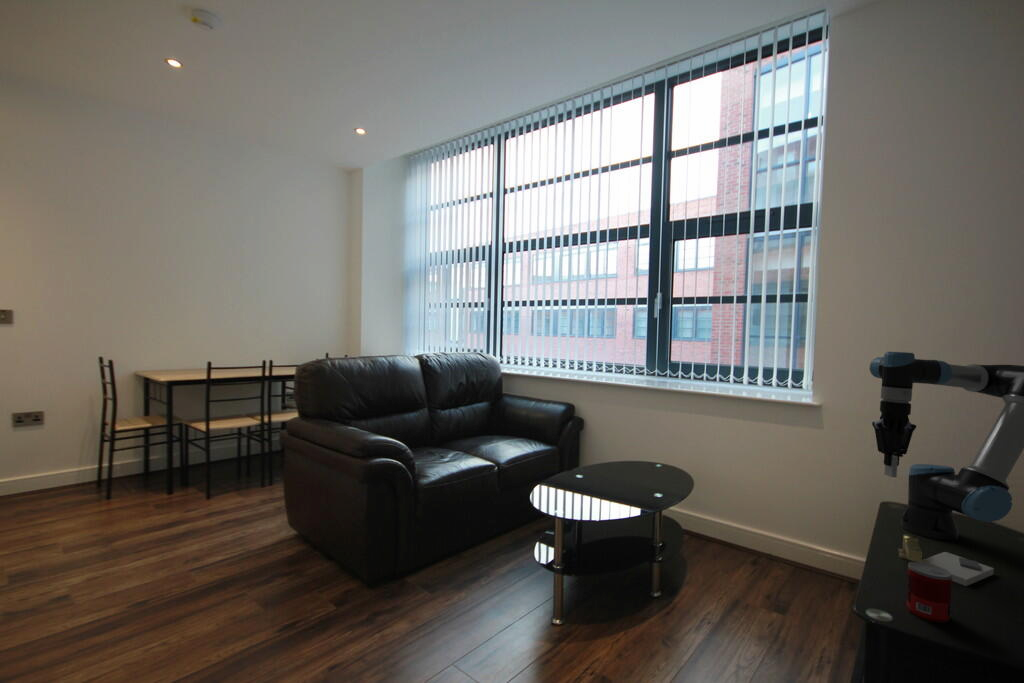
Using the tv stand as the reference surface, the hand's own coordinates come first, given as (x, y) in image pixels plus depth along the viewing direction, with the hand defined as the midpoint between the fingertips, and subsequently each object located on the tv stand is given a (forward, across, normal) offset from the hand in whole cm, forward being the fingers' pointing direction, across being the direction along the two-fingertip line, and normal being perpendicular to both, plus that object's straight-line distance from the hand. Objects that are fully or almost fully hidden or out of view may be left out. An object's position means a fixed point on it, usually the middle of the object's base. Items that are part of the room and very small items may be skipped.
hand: (890, 475), depth 149 cm
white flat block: (+23, +10, -13) cm, 28 cm away
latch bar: (+22, +1, -8) cm, 24 cm away
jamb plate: (+23, +4, -4) cm, 24 cm away
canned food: (+24, -19, -33) cm, 45 cm away
